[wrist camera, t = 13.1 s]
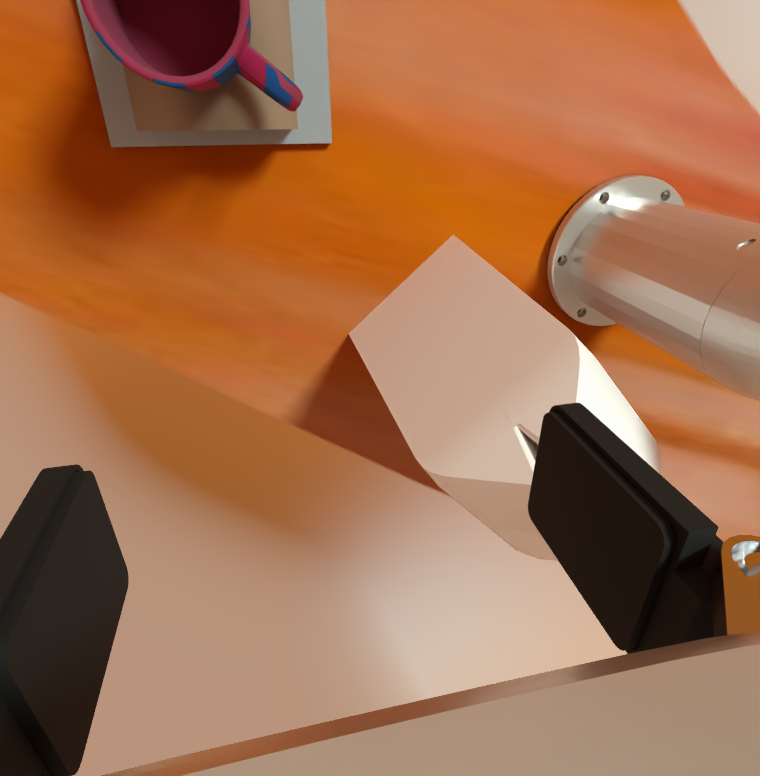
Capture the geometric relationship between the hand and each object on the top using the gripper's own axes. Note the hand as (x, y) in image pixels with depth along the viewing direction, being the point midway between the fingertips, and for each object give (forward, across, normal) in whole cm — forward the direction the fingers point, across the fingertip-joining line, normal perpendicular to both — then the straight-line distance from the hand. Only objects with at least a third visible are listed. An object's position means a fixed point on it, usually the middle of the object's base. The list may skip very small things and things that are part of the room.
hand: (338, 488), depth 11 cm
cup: (+26, +3, -10) cm, 28 cm away
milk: (+31, -13, +10) cm, 35 cm away
